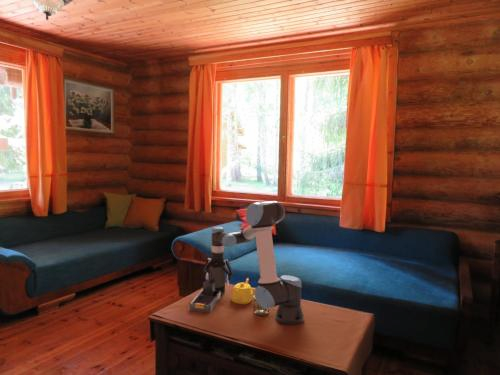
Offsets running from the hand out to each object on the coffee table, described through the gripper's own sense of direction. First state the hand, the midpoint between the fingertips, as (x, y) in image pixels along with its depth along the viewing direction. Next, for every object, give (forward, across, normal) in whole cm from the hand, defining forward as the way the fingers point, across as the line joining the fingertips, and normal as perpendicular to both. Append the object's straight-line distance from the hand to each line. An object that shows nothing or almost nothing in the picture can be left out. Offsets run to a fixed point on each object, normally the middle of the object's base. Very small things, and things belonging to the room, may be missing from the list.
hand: (217, 284), depth 231 cm
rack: (+6, +2, +17) cm, 18 cm away
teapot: (+6, -19, +7) cm, 21 cm away
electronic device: (+6, 0, 0) cm, 6 cm away
